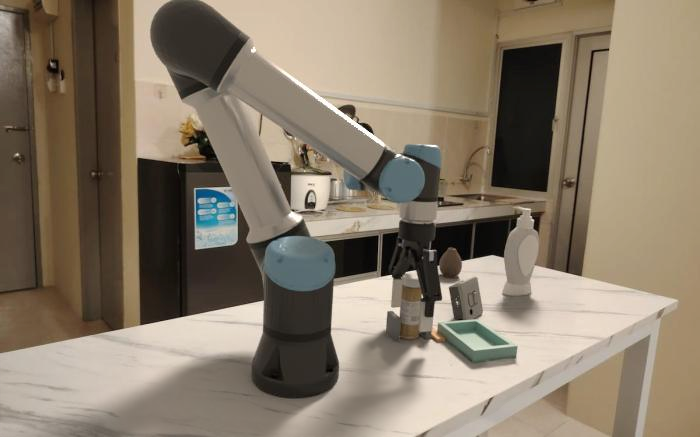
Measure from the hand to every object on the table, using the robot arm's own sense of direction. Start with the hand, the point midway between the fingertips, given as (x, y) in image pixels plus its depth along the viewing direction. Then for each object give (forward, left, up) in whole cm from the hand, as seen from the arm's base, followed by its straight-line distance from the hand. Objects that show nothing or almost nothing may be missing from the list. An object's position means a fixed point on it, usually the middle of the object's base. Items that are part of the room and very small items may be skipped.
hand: (410, 318), depth 101 cm
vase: (+33, +39, -4) cm, 51 cm away
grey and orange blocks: (+1, 0, -4) cm, 4 cm away
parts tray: (+12, -7, -4) cm, 14 cm away
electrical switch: (+19, +8, -4) cm, 21 cm away
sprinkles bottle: (0, 0, -4) cm, 4 cm away
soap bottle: (+44, +22, -4) cm, 49 cm away
